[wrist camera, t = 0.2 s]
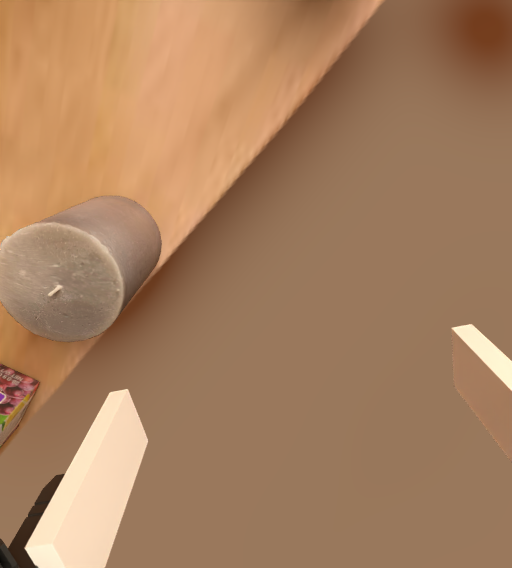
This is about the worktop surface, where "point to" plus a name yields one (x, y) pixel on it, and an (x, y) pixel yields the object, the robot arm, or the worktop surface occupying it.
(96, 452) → the robot arm
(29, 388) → the snack box
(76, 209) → the pillar candle
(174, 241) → the worktop surface
